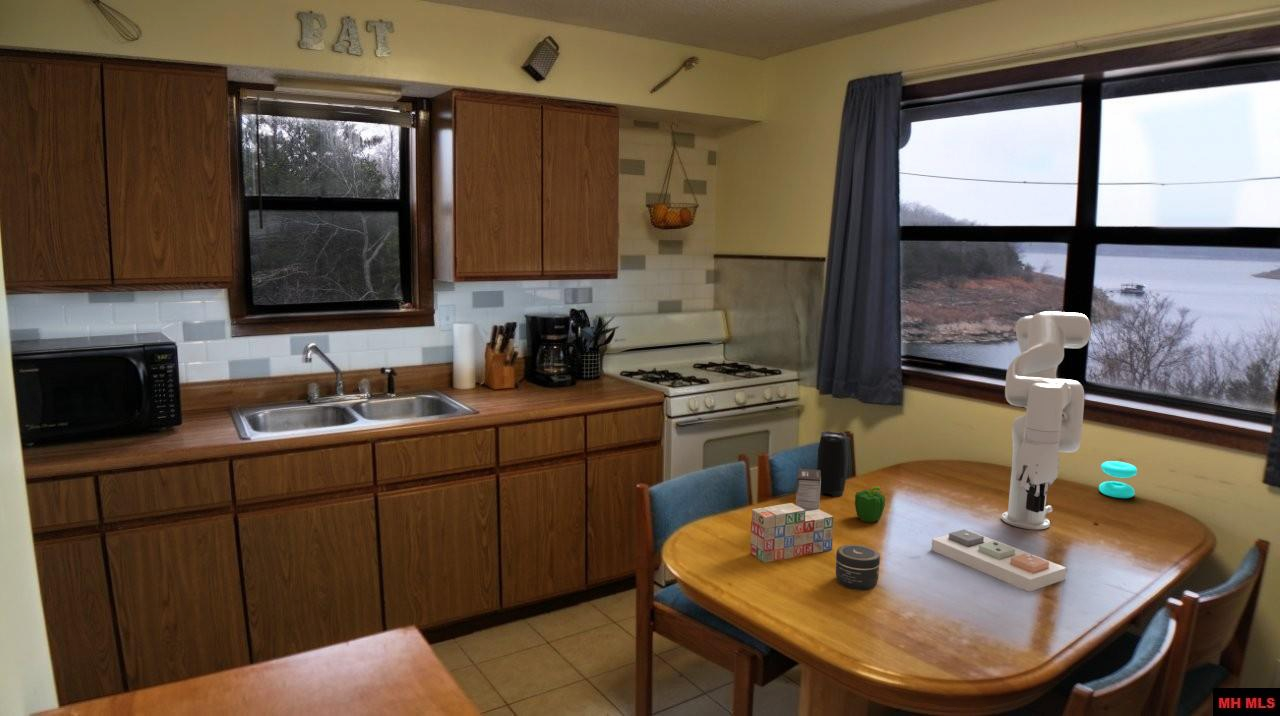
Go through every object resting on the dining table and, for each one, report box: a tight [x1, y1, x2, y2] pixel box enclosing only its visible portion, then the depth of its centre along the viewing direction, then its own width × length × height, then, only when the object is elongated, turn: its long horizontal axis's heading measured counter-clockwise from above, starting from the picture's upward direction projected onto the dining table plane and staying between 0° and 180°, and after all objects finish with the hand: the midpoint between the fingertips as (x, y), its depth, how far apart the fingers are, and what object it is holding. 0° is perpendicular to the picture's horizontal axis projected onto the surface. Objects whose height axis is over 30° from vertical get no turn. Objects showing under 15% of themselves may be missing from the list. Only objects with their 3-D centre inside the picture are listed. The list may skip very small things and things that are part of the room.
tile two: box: [978, 540, 1015, 560], centre depth 199 cm, size 6×6×3 cm
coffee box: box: [795, 468, 821, 511], centre depth 221 cm, size 9×6×16 cm
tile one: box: [948, 528, 984, 547], centre depth 207 cm, size 6×6×3 cm
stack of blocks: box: [750, 502, 834, 563], centre depth 205 cm, size 21×6×12 cm, turn 114°
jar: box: [835, 544, 881, 591], centre depth 187 cm, size 10×10×8 cm
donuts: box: [1098, 460, 1138, 499], centre depth 255 cm, size 10×10×10 cm
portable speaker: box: [816, 430, 849, 498], centre depth 251 cm, size 9×9×20 cm
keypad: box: [930, 529, 1067, 592], centre depth 199 cm, size 14×28×3 cm, turn 30°
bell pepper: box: [854, 485, 886, 523], centre depth 229 cm, size 8×8×10 cm
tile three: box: [1010, 552, 1049, 574], centre depth 191 cm, size 6×6×3 cm
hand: (1034, 509), depth 189 cm, fingers closed
